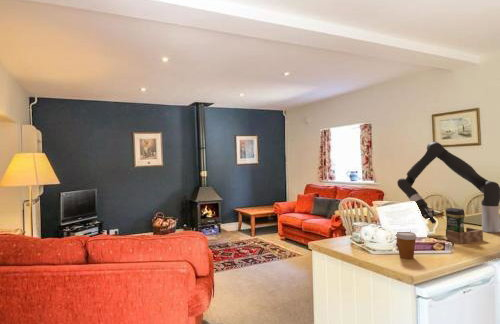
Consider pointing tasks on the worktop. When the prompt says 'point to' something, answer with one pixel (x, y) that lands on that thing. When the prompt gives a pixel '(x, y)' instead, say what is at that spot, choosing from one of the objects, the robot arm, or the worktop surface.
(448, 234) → the bracket
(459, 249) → the worktop surface
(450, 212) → the coffee jar
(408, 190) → the robot arm
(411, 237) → the disposable coffee cup
